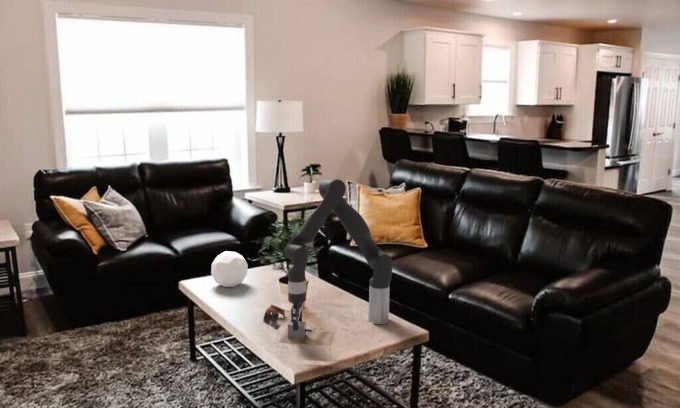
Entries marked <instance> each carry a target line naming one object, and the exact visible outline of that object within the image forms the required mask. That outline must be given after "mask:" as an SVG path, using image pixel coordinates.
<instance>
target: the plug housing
mask: <svg viewBox="0 0 680 408" xmlns="http://www.w3.org/2000/svg"><path fill="white" fill-rule="evenodd" d="M287 329H288V338H295V339H304V338H305V336H306V332H312V330H313V329H310V328H309V329H307V321H303V320H302V321H298V331H294V330H293V322H291V320H289V322H288V324H287Z"/></svg>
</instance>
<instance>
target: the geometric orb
mask: <svg viewBox="0 0 680 408" xmlns="http://www.w3.org/2000/svg"><path fill="white" fill-rule="evenodd" d="M248 266H249V264H248V263H247V261H246V259H245V258H244V257H243V255H242V254H240V253H238V252H236V251H227V250H225V251H223V252H221V253H220V254H218V255H217V256H216V257H215V258H214V260H213V261H212V263H211V267H210V268H211V270H210V274H211V276H212V278H213V280H214V282H215V283H216V284H217V285H221V286H222V287H225V288H235V287H237V286H238V285H239V284H241V283H243V282H244V280H245V278H246V277H247V276H248Z"/></svg>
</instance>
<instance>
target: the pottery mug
mask: <svg viewBox="0 0 680 408" xmlns="http://www.w3.org/2000/svg"><path fill="white" fill-rule="evenodd" d="M285 312H286V311H285V309H284V308H282V307H279V306H277V305H274V304H271V305H270V306H269V307H267V308H266V309H265V313H264V315H263V318H262V320H263V322H264V323H266V324H269V325H270V323H272V324H273V323H276V322H277V320H278V318H279V314H281V315H282V317H283V318H282V320H283V321H284V320H285V317H286V316H285V315H286V313H285Z"/></svg>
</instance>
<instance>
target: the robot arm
mask: <svg viewBox="0 0 680 408" xmlns="http://www.w3.org/2000/svg"><path fill="white" fill-rule="evenodd" d="M346 189H347V186H346V184H345V183H344V181H343V180H341V179H338V178H326V179H322V180H321V181H320V183H319V185H318V192H319V195H320V197H321V198H322V201H321V202H320V204H319V205H318V206H317V207H316V209H315V210H314V211H313V212H311V213H310V214H309V216H308V217H307V218H306V219H305V221H304V223H303V224H302V226H301V227H300V229H299V231H298V232H297V233H296V234H295V235H294V237H292V239H291V240H290V241H289V242H288V243H287V245H286V246H285V249H284V255H285V258H286V259H288V260H290V261H293V263H294V264H293V265H290V266H289V268H288V280H287V282H288V283H287V292H288V293H287V297H288V298H287V299H288V302H289V303H290V304H292V306H291V309H290V311H291V312H290V313H291V314H290V321H291V322H293V330H294V331H298V321H303V312H304V303H305V302H306V300H307V285H306V269H307V264H308V261H309V250H308V249H307V247H306V246H305V245H306V244H311V243H312V242H313V241H314V240H315V238H316V236H317V234H318V233H319V231H320V229H321V228H322V226H323V225H324V223H325V221H326V219H327V218H328V217H329V215H330V214H331V213H332V212H334V214H335V215H336V217H337V219H338V220H339V221H340V223H341V225H342V226H343V228H344V229H345V231H346V232H347V234H348V235H349V237H350V238H351V239H352V240H353V242H354V243H355V244H356V245H357V247H358V248H359V250H360V252H361V253H362V255H363V257H364V258H365V261H366V262H367V265H368V266H369V267H370V269H373V273H372V274H373V275H372V277H371V278H370V279H369V286H368V287H369V289H368V290H369V291H368V293H369V294H368V296H369V297H368V322H369V323H373V324H374V325H384V324H389V320H390V319H389V318H390V284H391V280H392V276H393V260H392V257H391V256H390V255H389V254H388V253H386V252H384V251H383V250H381V249H380V247H379V246H378V245H377V244H376V242H375V241H374V240H373V237H372V233H371V230H370V228H369V226H368V223H367V222H366V220H365V219H364V218H363V216H362V215H361V214H360V213H359V212H358V211H357V210H356V209H355V208H354V207H352V206H351V205H350V204H349V203H348V202H347V201H346V200H345V198H344V196H345V194H346V191H347V190H346Z"/></svg>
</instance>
